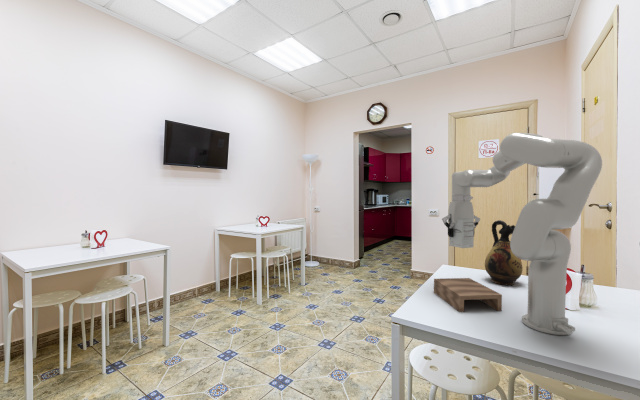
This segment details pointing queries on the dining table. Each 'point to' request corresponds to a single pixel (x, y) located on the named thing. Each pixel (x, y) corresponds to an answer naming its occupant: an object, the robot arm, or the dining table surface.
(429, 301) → the dining table surface
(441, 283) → the walnut shelf
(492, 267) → the ceramic jug
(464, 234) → the supplement box
